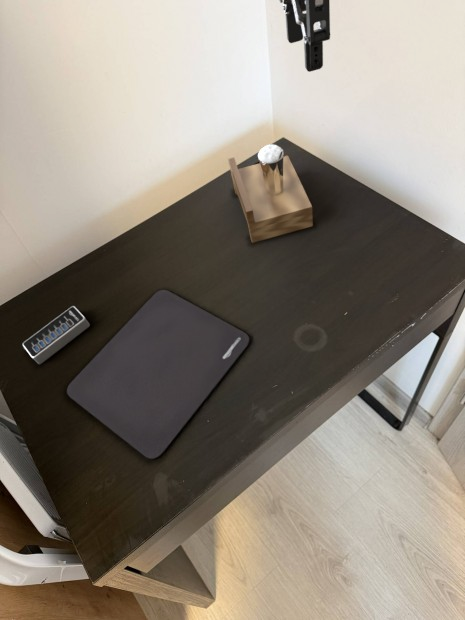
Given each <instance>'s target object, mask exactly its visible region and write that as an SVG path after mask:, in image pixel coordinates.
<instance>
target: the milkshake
mask: <svg viewBox="0 0 465 620" xmlns="http://www.w3.org/2000/svg"><path fill="white" fill-rule="evenodd" d="M284 153H285V152H284V149H283V148H282V147H281V146H279V145H277V144H275V143H273V144H272V143H270V144H265V145H264V146H263V147H261V149H260V150H259V151H258V153H257V158H258V162H259V163H260V166H261V170H262V173H263V177H264V182H265V186H266V190H267V193H269V194H270V195H277V194H279V193H281V192H282V190H283V157H284V156H285V155H284Z"/></svg>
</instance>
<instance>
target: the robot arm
mask: <svg viewBox="0 0 465 620" xmlns="http://www.w3.org/2000/svg"><path fill="white" fill-rule="evenodd" d="M279 3H280V4H282V11H283V13H284V14H285V25H286V27H285V28H286V40H287V41H288V43H290V44H294V43H298V42H301V41H302V40H303V49H304V50H303V51H304V67H305V70H306V71H307V72H309V73H310V72H314V71H317V70H321V69H322V68H323V66H324V42H325V41H329V40H331V13H330V11H331V9H330V6H331V5H330V3H331V2H330V0H279ZM315 24H316V27H317V29H315V26H314V25H315Z"/></svg>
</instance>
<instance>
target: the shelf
mask: <svg viewBox="0 0 465 620" xmlns="http://www.w3.org/2000/svg"><path fill="white" fill-rule="evenodd" d="M227 160H228V166H229V170H230V175H231V180H232V184H233V189H234V192H235V195H237V197H238V200H239V202H240V205H241V208H242V211H243V214H244V217H245V221H246V223H247V227H248V232H249V237H250V240H251V243H252V244H253V243H257V242H260V241H264V240H267V239H268V240H269V239H272V238H275V237H278V236H282V235H285V234H291V233H294V232H296V231H297V232H298V231H301V230H304V229H307V228H311V227H314V218H313V217H314V215H313V206H312V203H311V201H310V199H309V197H308V195H307V193H306V190H305V188H304V186H303V184H302V182H301V180H300V178H299V176H298V174H297V172H296V170H295V167H294V165H293V163H292V161H291V159H290V157H289V155H284V157H283V190H282V192H281V193H279V194H277V195H270V194H269V193H267V190H266V186H265V182H264V177H263V173H262V170H261V166H260V162H259V163H256V164H252V165H248V166H245V167H240V168H238V164H237V162H236V159H235V157H230V158H227Z"/></svg>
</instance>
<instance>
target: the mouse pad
mask: <svg viewBox="0 0 465 620" xmlns="http://www.w3.org/2000/svg"><path fill="white" fill-rule="evenodd" d="M249 344H250V336H249V335H248V334H247V333H246V332H245V331H244V330H241V329H239V328H237V327H235V326H234V325H232V324H230V323H228V322H226V321H224V320H223V319H221V318H219V317H217V316H215V315H213V314H212V313H210V312H208V311H206V310H204V309H203V308H201V307H199V306H198V305H195V304H194V303H192V302H190V301H189V300H186V299H184V298H182V297H181V296H179V295H177V294H175V293H173V292H171V291H170V290H167V289H160V290H158V291H156V292H155V293H154V294H153V295H152V296H151V297H150V298H149V299H148V300H147V301H146V302H145V303H144V304H143V306H142V307H141V308H139V310H137V312H136V313H135V314H134V315H133V316H132V317H131V318H130V319H129V320H128V321H127V322H126V323H125V324H124V326H123V327H122V328H121V329H120V330H119V331H118V332H117V333H116V334H115V335H114V336H113V337H112V338H111V339H110V341H109V342H107V343H106V345H104V346H103V348H102V349H100V351H99V352H98V353H97V354H96V355H95V356H94V357H93V358H92V360H90V362H89V363H88V364H87V365H86V366H85V367H84V368H83V369H82V370H81V371H80V372H79V373H78V374H77V375H76V376H75V377H74V378H73V380H72V381H71V382H70V383H69V384H68V386H67V388H66V394H67V395H68V397H69V398H70V399H71V400H73V401H74V402H75V403H77V404H78V405H79V406H80V407H82V408H83V409H84V410H85V411H87V412H88V413H89V414H90V415H92V416H93V417H94V418H95V419H97V420H98V421H99V422H101V423H102V424H103V425H104V426H105V427H107V428H108V429H109V430H110V431H112V432H113V433H115V434H116V435H117V436H118V437H120V439H122V440H124V441H125V442H126V443H128V445H129V446H130V447H132V448H134V449H135V450H136V451H137V452H139V453H140V454H141V455H142V456H143V457H145V458H147V459H149V460H155V459H157V458H159V457H160V456H161V455H163V454H164V452H165V451H166V450H167V449H168V447H169V446H170V445H171V444H172V443H173V441H174V440H175V438H176V437H177V436H178V435H179V433H180V432H181V431H182V430H183V428H184V427H186V425H187V423H188V422H189V421H190V420H191V418H192V417H193V416H194V414H196V412H197V411H198V409H199V408H200V407H201V406H202V405H203V403H204V402H205V401H206V399H207V398H208V397H209V396H210V395H211V393H212V392H213V391H214V389H215V388H216V387H217V385H218V384H219V383H220V382H221V380H223V378H224V377H225V376H226V374H227V372H228V371H229V370H230V369H231V368H232V367H233V365H234V364H235V363H236V361H237V360H238V359H239V357H240V356H241V355H242V353H243V352H244V351H245V350H246V349H247V347H248V346H249Z"/></svg>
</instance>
